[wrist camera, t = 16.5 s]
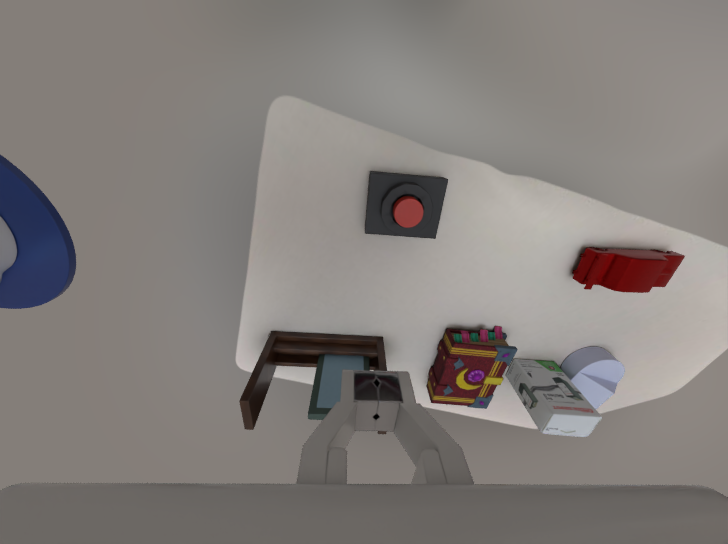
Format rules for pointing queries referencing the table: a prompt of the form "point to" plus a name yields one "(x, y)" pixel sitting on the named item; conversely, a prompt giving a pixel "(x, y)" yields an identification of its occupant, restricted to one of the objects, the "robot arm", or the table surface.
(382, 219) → the switch block
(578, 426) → the ink box
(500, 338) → the decorative book
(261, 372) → the window frame
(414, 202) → the red push button
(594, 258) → the toy car
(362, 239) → the table surface
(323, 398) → the window pane
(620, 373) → the wedge on round base
